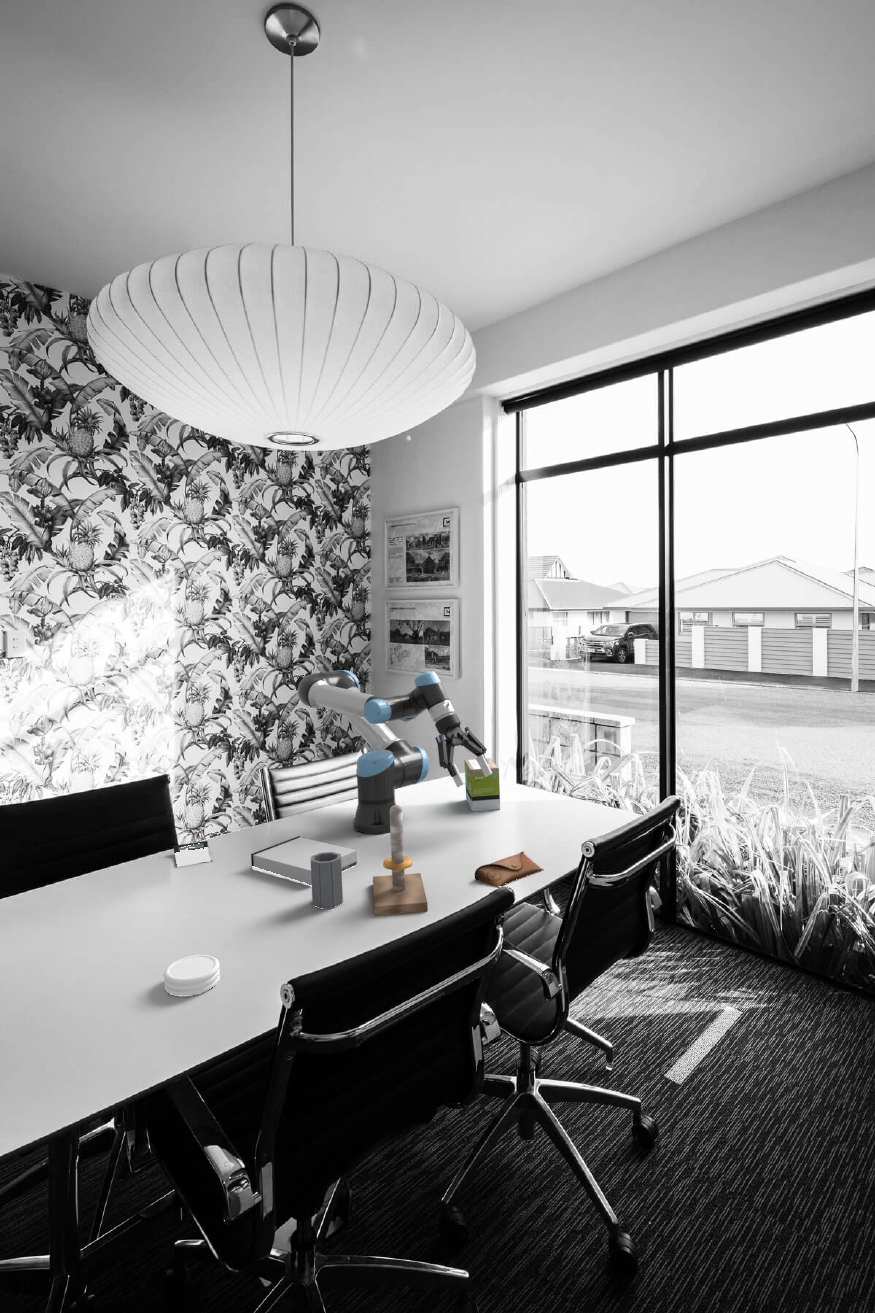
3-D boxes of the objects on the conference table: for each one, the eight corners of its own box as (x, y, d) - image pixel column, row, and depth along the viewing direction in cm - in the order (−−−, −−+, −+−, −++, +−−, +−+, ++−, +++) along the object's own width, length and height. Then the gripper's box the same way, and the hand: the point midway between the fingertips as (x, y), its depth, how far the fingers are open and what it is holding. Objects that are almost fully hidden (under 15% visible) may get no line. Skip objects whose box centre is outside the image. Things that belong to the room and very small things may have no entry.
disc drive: (299, 852, 207) (298, 835, 207) (358, 867, 194) (357, 849, 194) (251, 872, 193) (250, 854, 193) (311, 889, 180) (310, 870, 180)
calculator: (176, 868, 197) (175, 858, 197) (173, 855, 207) (173, 845, 207) (212, 862, 201) (211, 852, 200) (207, 850, 211) (207, 840, 211)
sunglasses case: (498, 889, 175) (487, 862, 177) (481, 896, 180) (471, 870, 182) (546, 869, 187) (535, 844, 189) (528, 876, 192) (519, 852, 194)
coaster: (181, 1005, 129) (180, 986, 128) (154, 986, 135) (153, 968, 135) (230, 982, 136) (229, 964, 136) (202, 965, 143) (201, 948, 142)
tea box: (465, 799, 255) (463, 758, 254) (492, 798, 256) (491, 757, 255) (471, 812, 240) (470, 768, 239) (501, 810, 241) (499, 766, 240)
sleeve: (312, 909, 167) (309, 863, 166) (313, 897, 174) (311, 853, 173) (342, 907, 167) (340, 861, 167) (342, 895, 174) (341, 851, 173)
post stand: (375, 915, 163) (371, 818, 161) (373, 884, 181) (369, 796, 179) (427, 911, 164) (424, 814, 162) (420, 880, 182) (417, 793, 180)
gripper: (425, 719, 211) (456, 785, 206) (477, 706, 230) (507, 766, 224) (410, 730, 216) (440, 795, 210) (462, 716, 234) (491, 775, 229)
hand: (475, 780), depth 217 cm, fingers open, 13 cm apart
